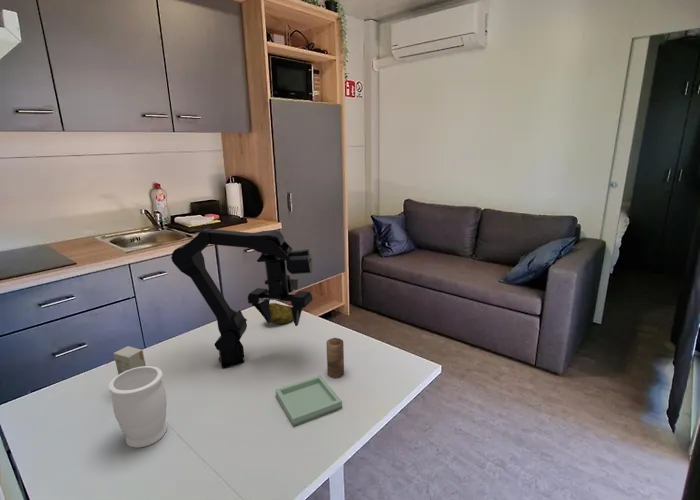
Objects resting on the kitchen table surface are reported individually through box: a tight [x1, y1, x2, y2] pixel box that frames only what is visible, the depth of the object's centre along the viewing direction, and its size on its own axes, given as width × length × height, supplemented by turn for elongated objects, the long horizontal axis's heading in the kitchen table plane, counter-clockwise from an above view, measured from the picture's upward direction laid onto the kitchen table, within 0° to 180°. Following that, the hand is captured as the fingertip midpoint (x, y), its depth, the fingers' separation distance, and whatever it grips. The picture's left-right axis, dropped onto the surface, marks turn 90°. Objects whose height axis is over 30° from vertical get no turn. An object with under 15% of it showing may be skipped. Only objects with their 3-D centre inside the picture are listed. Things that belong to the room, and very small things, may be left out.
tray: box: [275, 374, 343, 427], centre depth 99 cm, size 13×13×2 cm
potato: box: [263, 302, 294, 325], centre depth 143 cm, size 8×13×8 cm, turn 109°
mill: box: [326, 337, 345, 379], centre depth 110 cm, size 5×5×11 cm
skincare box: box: [113, 345, 147, 375], centre depth 103 cm, size 6×4×12 cm
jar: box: [108, 365, 167, 448], centre depth 87 cm, size 11×10×15 cm
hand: (283, 324), depth 115 cm, fingers open, 9 cm apart
